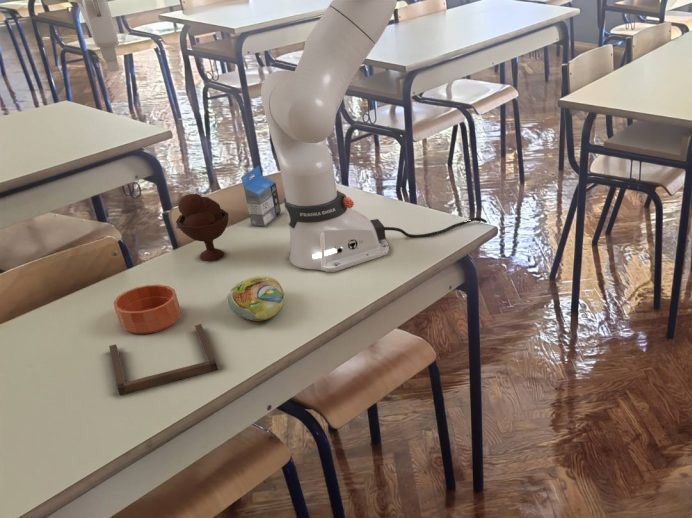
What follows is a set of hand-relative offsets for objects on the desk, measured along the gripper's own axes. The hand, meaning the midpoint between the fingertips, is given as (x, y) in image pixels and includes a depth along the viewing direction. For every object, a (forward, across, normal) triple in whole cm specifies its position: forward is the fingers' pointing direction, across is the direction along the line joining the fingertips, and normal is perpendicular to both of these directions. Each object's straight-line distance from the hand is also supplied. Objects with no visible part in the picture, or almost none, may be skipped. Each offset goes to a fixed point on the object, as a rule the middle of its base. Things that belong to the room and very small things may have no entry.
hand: (111, 65), depth 135 cm
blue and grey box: (+45, +27, -26) cm, 58 cm away
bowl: (+45, -12, +6) cm, 47 cm away
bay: (+45, -28, +6) cm, 53 cm away
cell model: (+45, -18, -14) cm, 50 cm away
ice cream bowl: (+45, +12, -10) cm, 48 cm away
